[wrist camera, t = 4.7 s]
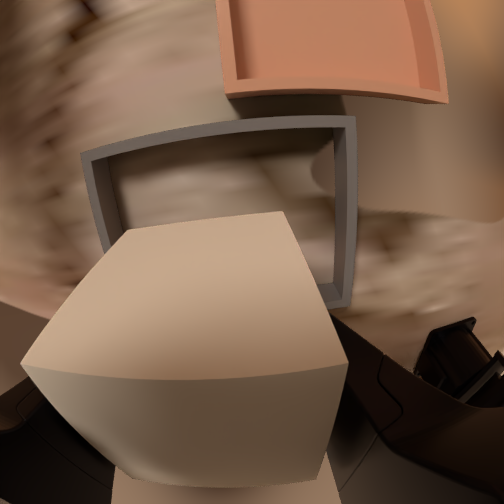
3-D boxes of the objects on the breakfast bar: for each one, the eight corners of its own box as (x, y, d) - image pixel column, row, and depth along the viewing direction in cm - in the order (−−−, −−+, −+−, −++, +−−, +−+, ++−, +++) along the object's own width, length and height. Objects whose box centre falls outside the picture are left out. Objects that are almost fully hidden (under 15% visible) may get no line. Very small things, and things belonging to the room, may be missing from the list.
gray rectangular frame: (342, 116, 14) (355, 115, 12) (340, 289, 18) (350, 306, 17) (97, 148, 14) (80, 153, 12) (139, 308, 19) (130, 325, 17)
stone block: (282, 211, 8) (348, 362, 3) (288, 335, 11) (316, 479, 5) (127, 229, 8) (19, 363, 3) (164, 344, 11) (132, 478, 5)
